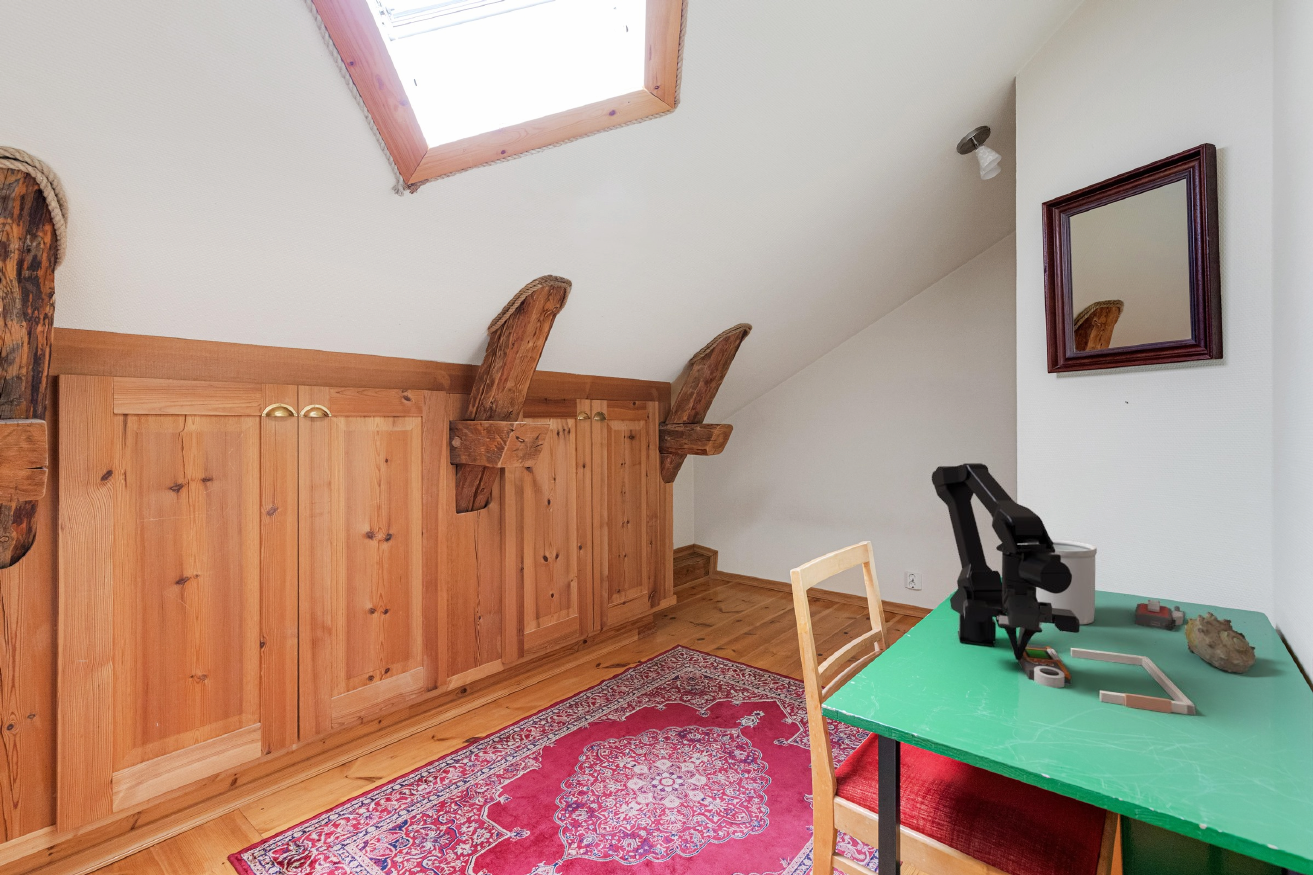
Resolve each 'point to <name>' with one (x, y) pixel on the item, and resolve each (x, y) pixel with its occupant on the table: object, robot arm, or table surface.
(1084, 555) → the utensil holder
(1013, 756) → the table surface
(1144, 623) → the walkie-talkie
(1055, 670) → the electronic device
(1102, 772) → the table surface
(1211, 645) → the seashell
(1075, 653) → the docking bay
